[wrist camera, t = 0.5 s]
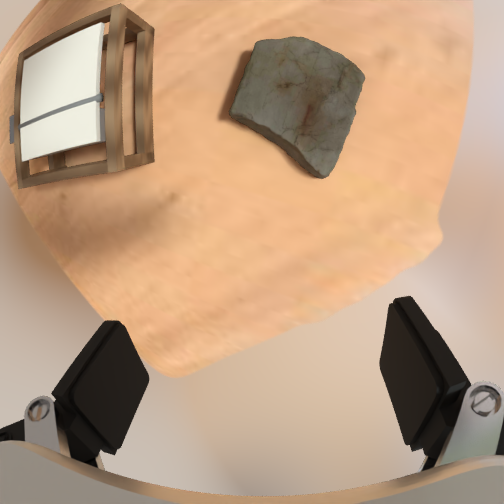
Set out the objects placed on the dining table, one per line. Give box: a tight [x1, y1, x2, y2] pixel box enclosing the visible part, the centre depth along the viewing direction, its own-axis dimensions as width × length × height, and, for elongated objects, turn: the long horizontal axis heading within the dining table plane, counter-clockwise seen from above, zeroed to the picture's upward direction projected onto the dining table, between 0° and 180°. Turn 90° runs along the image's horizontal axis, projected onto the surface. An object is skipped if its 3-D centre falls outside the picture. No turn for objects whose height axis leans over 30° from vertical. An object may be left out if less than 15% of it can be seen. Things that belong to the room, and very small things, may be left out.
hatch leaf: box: [18, 22, 106, 162], centre depth 24 cm, size 15×15×5 cm
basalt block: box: [10, 115, 14, 144], centre depth 31 cm, size 5×5×5 cm
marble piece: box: [229, 37, 365, 179], centre depth 30 cm, size 17×15×4 cm
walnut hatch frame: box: [14, 4, 154, 189], centre depth 28 cm, size 21×18×10 cm
